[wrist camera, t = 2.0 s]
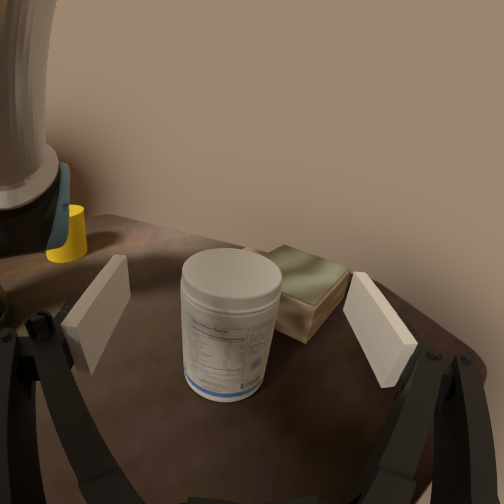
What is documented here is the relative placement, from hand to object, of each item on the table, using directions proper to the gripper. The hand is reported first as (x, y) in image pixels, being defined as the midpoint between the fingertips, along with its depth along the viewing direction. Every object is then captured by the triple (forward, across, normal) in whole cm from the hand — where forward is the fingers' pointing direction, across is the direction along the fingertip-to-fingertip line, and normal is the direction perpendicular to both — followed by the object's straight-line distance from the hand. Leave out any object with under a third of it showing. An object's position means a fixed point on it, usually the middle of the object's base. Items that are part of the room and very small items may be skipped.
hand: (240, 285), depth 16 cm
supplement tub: (+10, 0, -19) cm, 21 cm away
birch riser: (+30, +7, -18) cm, 36 cm away
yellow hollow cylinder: (+38, -37, -18) cm, 56 cm away
